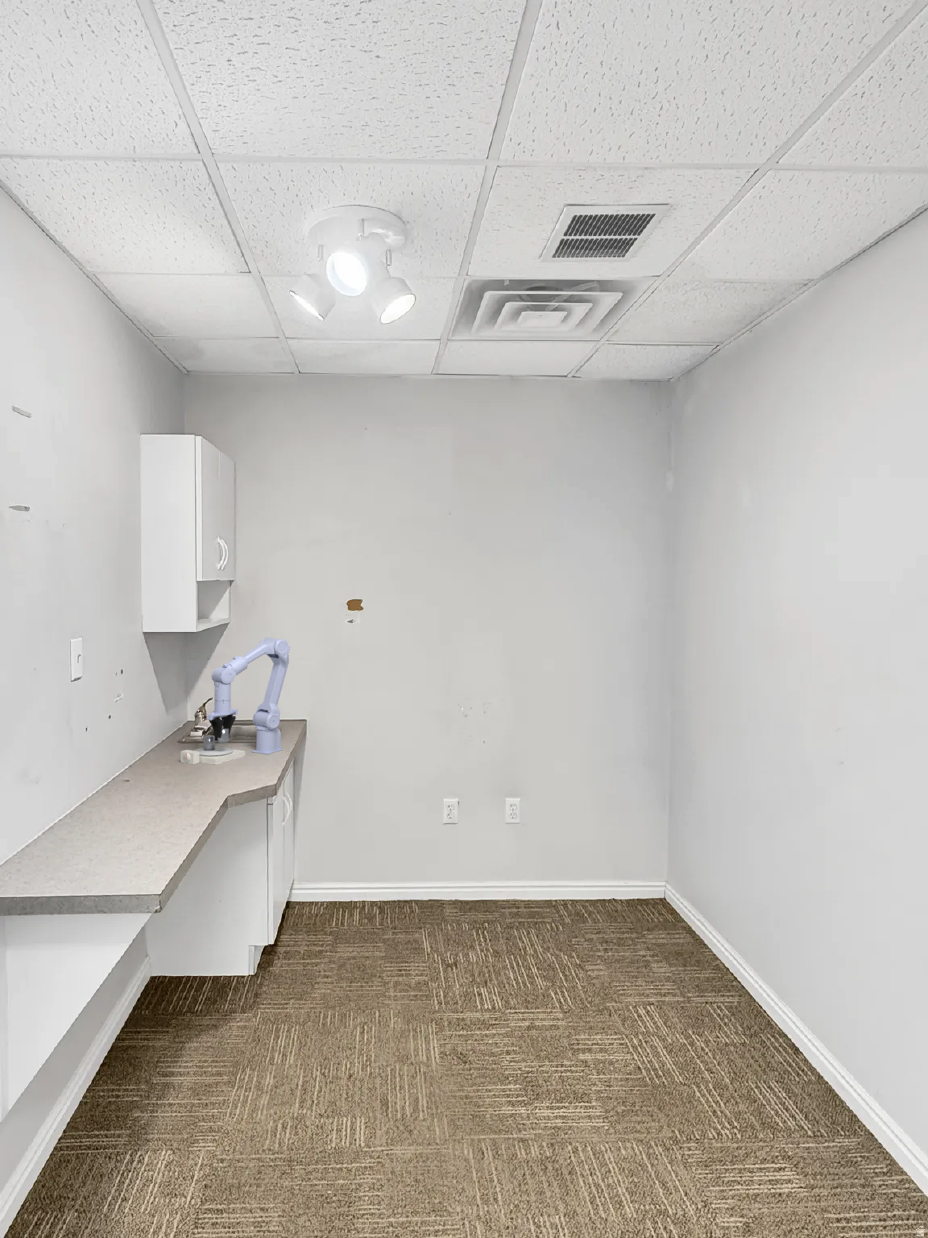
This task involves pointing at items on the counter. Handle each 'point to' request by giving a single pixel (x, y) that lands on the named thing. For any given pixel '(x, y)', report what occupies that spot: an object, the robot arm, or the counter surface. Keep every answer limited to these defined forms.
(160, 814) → the counter surface
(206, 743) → the cylinder
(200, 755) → the scale
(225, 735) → the cylinder
